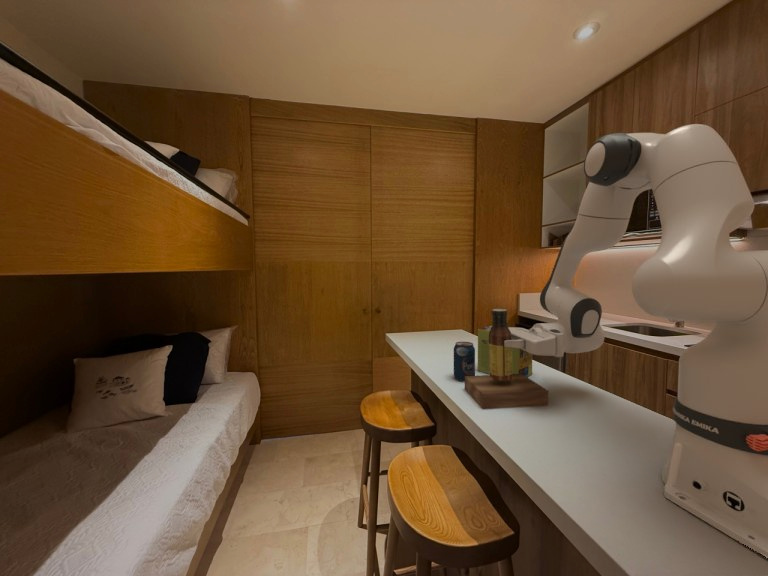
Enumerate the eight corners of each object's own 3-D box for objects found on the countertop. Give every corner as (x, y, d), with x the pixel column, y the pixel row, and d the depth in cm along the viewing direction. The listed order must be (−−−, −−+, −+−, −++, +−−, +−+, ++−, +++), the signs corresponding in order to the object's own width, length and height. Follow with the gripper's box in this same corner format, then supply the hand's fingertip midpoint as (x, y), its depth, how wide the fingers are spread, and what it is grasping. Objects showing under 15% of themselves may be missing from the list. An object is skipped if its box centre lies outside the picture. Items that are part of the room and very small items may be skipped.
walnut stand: (548, 405, 86) (548, 390, 85) (483, 408, 84) (483, 393, 84) (520, 386, 99) (521, 373, 99) (464, 389, 98) (464, 376, 98)
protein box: (519, 382, 103) (519, 334, 102) (476, 371, 115) (477, 328, 114) (533, 374, 110) (533, 330, 109) (492, 365, 122) (492, 324, 121)
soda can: (467, 384, 102) (467, 347, 101) (449, 378, 107) (449, 343, 107) (479, 378, 107) (479, 343, 106) (461, 374, 112) (461, 340, 111)
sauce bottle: (508, 374, 94) (509, 308, 93) (515, 382, 88) (516, 311, 86) (486, 374, 95) (486, 308, 93) (491, 382, 89) (491, 311, 87)
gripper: (524, 321, 102) (483, 323, 101) (567, 334, 82) (515, 336, 80) (524, 341, 102) (483, 343, 101) (567, 359, 82) (515, 361, 81)
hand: (497, 340), depth 90 cm, fingers closed on sauce bottle, 6 cm apart
